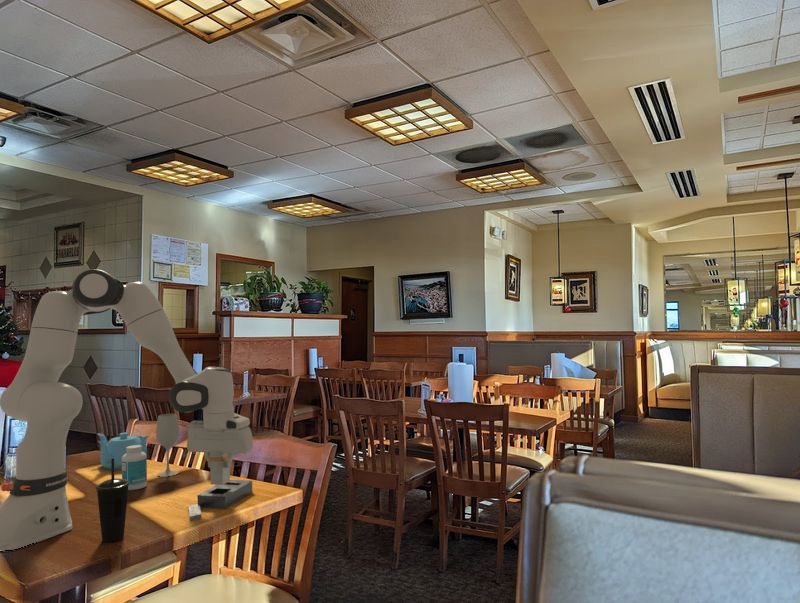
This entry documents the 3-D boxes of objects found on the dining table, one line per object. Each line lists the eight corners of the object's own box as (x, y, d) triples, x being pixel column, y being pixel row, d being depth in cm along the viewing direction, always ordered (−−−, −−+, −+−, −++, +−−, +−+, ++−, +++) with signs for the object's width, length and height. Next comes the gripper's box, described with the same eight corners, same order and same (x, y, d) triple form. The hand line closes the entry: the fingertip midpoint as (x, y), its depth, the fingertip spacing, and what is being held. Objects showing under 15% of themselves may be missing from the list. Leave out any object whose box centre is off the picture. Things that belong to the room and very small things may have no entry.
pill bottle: (151, 484, 187) (151, 443, 187) (138, 491, 179) (138, 449, 180) (130, 484, 187) (130, 443, 188) (117, 491, 180) (116, 449, 180)
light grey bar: (201, 520, 153) (201, 514, 153) (189, 522, 151) (189, 516, 152) (199, 509, 162) (199, 503, 162) (188, 510, 161) (188, 505, 161)
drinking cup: (135, 532, 144) (134, 454, 144) (121, 544, 136) (121, 462, 137) (105, 533, 143) (104, 455, 144) (89, 545, 136) (89, 463, 136)
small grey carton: (222, 485, 164) (222, 451, 164) (210, 484, 165) (209, 450, 165) (230, 480, 168) (229, 447, 168) (217, 480, 169) (217, 447, 169)
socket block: (225, 509, 160) (225, 496, 160) (197, 507, 162) (197, 495, 162) (252, 491, 176) (252, 480, 176) (226, 490, 178) (226, 479, 178)
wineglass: (157, 472, 201) (157, 414, 202) (180, 470, 203) (179, 412, 204) (155, 478, 194) (154, 417, 195) (178, 475, 196) (177, 416, 197)
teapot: (97, 474, 201) (97, 440, 201) (97, 463, 217) (97, 431, 217) (149, 467, 209) (149, 434, 209) (145, 457, 225) (145, 426, 226)
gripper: (181, 422, 166) (182, 468, 166) (244, 423, 161) (245, 471, 161) (194, 418, 172) (194, 463, 172) (254, 419, 168) (255, 465, 167)
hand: (219, 467), depth 166 cm, fingers closed on small grey carton, 4 cm apart
